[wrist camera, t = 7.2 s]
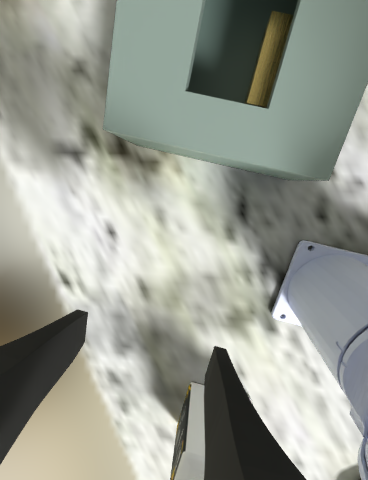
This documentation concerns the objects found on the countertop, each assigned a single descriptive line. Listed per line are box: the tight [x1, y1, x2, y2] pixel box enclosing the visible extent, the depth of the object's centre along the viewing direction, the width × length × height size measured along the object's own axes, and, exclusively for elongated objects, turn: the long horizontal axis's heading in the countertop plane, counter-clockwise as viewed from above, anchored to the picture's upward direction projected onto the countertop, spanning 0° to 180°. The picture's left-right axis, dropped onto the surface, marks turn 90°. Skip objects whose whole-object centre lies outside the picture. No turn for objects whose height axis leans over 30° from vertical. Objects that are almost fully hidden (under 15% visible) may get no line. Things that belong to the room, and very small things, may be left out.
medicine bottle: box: [170, 382, 253, 480], centre depth 20 cm, size 7×7×12 cm
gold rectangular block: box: [244, 11, 294, 108], centre depth 15 cm, size 2×5×4 cm
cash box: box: [103, 0, 368, 181], centre depth 14 cm, size 13×13×6 cm
